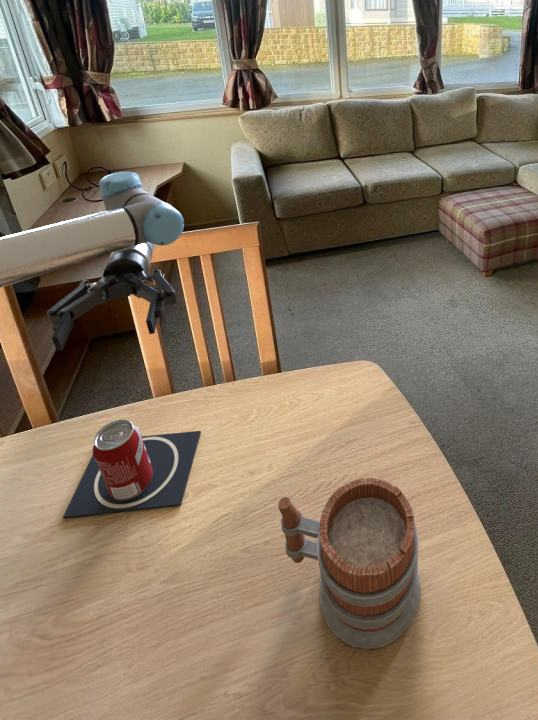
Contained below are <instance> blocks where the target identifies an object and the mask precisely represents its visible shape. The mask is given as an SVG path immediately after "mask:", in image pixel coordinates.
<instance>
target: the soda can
mask: <svg viewBox="0 0 538 720" xmlns="http://www.w3.org/2000/svg"><path fill="white" fill-rule="evenodd" d="M142 436H143V435H142V434H141V431H140V429H139V428H138V426H137V425H135V424H133V422H132V421H130V420H128V419H123V418H122V419H121V418H120V419H116V420H113V421H111V422H108V423H107V424H105V425H104V426H102V427H101V428H100V429H99V430H98V431H97V432H96V434H95V436H94V438H93V446H92V456H93V455H94V458H95V460H96V463H97V465H98V467H99V470H100V472H101V475H102V477H103V480H104V482H105V484H106V487H107V489H108V492H109V494H110V496H111V497H112V498H113V499H115V500H128V499H131V498H134V497H136V496H137V495H139V494H140V493H142V492H143V491H144V490H145V489H146V488H147V487H148V485H149V484H150V482H151V480H152V477H153V469H152V466H151V463H150V460H149V457H148V454H147V451H146V448H145V445H144V442H143V439H142Z"/></svg>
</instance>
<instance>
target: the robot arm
mask: <svg viewBox="0 0 538 720" xmlns="http://www.w3.org/2000/svg"><path fill="white" fill-rule="evenodd" d="M98 185H99V186H98V187H99V190H100V198H101V199H102V202H103V205H104V208H105V210H104V211H100V212H97V213H93V214H88V215H85V216H81V217H77V218H73V219H69V220H65V221H60V222H56V223H53V224H52V223H51V224H49V225H44V226H41V227H37V228H33V229H29V230H25V231H21V232H17V233H13V234H9V235H5V236H1V237H0V289H1V288H4V287H7V286H10V285H14V284H17V283H20V282H23V281H26V280H29V279H32V278H36V277H39V276H42V275H45V274H48V273H52V272H54V271H55V272H56V271H57V270H61V269H64V268H67V267H70V266H74V265H78V264H80V263H84V262H87V261H90V260H93V259H96V258H97V259H98V258H100V257H103V256H106V255H109V254H110V255H109V258H108V260H107V263H106V265H105V267H104V270H103V272H102V277H101V279H99V280H98V281H97V282H90V281H89V280H88V279H84V280H82V281H81V282H80V283H79V285H78V286H77V287H76V288H75V289H73V290H72V291H71V292H70V293H69V294H67V295H66V296H64V298H62V299H60V300H59V301H58V302H57V303H56V304H55V305H53V306H51V308H50V309H48V310H47V311H46V314H47V317H48V319H49V322H50V325H52V331H53V334H52V337H51V340H52V342H53V345H54V347H55V349H56V352H61V351H64V348H65V345H66V343H67V341H68V338H69V337H70V334H71V332H72V330H73V328H74V326H75V324H74V321H75V320H76V319H78V318H80V317H82V316H83V315H84V314H86V313H88V312H89V311H91V310H92V309H94V308H95V307H97V306H98V305H104V304H106V303H108V302H109V301H111V300H115V299H119V298H127V297H130V296H134V297H136V298H138V299H143V300H144V301H146V302H147V303H149V306H148V311H147V314H146V315H147V316H146V320H145V323H146V326H147V330H148V333H149V335H155V332H156V330H157V329H156V328H157V324H158V320H159V319H158V318H163V317H164V316H165V311H166V307H167V305H177V303H178V297H177V294H176V290H175V289H174V287H173V286H171V284H170V283H169V282H168V281H167V280H166V279H165V278H164V277H163V275H162V270H161V269H160V268H156V269H154V270H153V273H151V274H149V270H150V267H151V263H152V259H153V256H154V255H153V254H154V252H155V249H156V246H168V245H171V244H173V243H174V242H176V241H177V240H178V239H179V238H180V237H181V235H182V233H183V231H184V228H185V220H184V217H183V215H182V214H181V212H180V211H179V210H177V209H176V208H175V207H174V206H173V205H171V204H170V203H168V202H165V201H163V200H161V199H160V198H157V197H155V196H154V195H153V194H151V193H149V192H147V191H146V190H144V188H143V183H142V181H141V179H140V176H139V174H138V173H136V172H134V171H118V172H114V173H110V174H107V175H105V176H103V177H102V178H101V179H100V180H99V184H98ZM155 244H156V246H155ZM148 283H151V284H153V286H154V287H156V288H157V289H156V288H154V287H152V286H149V285H148Z"/></svg>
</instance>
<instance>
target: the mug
mask: <svg viewBox="0 0 538 720" xmlns="http://www.w3.org/2000/svg"><path fill="white" fill-rule="evenodd" d="M277 506H278V510H279V511H280V515H281V519H280V525H281V531H282V533H283V534H284V537H285V538H284V539H285V542H284V550H285V554H286V555H287V557H288V558H290V559H291V560H292V561H293V562H294V563H295V564H300V563H302V562H303V561H304V559H305V558H308V559H311V560H315V561H318V567H319V575H320V577H319V578H320V580H319V588H318V589H319V590H318V591H319V592H318V595H319V606H320V608H321V612H322V616H323V618H324V620H325V622H326V624H327V626H328V627H329V628H330V630H331V631H332V633H334V635H335V636H337V637H338V638H339V639H340V640H341V641H342V642H344V643H346V644H348V645H350V646H352V647H354V648H360V649H364V650H367V649H378V648H381V647H384V646H388V645H389V644H391V643H392V642H394V641H396V640H398V638H400V636H402V634H404V633H405V632H406V631H407V629H408V628H409V626H410V625H411V624H412V622H413V620H414V618H415V615H416V614H417V612H418V608H419V604H420V600H421V589H422V588H421V577H420V574H419V564H418V559H419V558H418V557H419V533H418V529H417V525H416V522H415V516H414V512H413V508H412V506H411V504H410V502H409V500H408V498H407V497H406V495H404V494H403V491H402V490H401V489H400V488H399V487H398V486H396V485H393V484H391V483H389V482H388V481H385V480H382V479H378V478H374V477H363V478H358V479H355V480H352V481H350V482H347V483H346V484H344V485H342V486H341V487H338V488H337V489H336V490H335V491H334V492H333V493H332V494H331V495H330V497H329V498H328V500H327V501H326V503H325V506H324V507H323V508H322V512H321V516H320V519H319V520H316V519H312V518H309V517H306V516H303V513H302V512H301V510H299V509H297V508H296V505H295V503H294V504H293V502H291V499H290V498H289V497H288V496H283V497H281V498H280V499H279V501H278V505H277ZM306 537H310V538H314V539H317V541H314V540H312V539H307V538H306Z"/></svg>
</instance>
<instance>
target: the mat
mask: <svg viewBox="0 0 538 720" xmlns="http://www.w3.org/2000/svg"><path fill="white" fill-rule="evenodd" d="M201 433H202V431H201V430H194V431H183V432H182V431H181V432H173V433H163V434H151V435H141V436H142V439H143V442H144V445H145V448H146V451H147V454H148V457H149V460H150V463H151V466H152V469H153V477H152V480H151V482H150V484H149V485H148V487H147V488H146V489H145V490H144V491H143V492H142V493H140V494H139V495H137V496H136V497H134V498H131V499H128V500H115V499H113V498H112V497H111V496H110V494H109V492H108V489H107V487H106V484H105V482H104V480H103V477H102V475H101V472H100V470H99V467H98V465H97V463H96V460H95V458H94V455H93V454H92V456H91V458H90V460H89V462H88V464H87V466H86V468H85V470H84V473H83V474H82V476H81V478H80V481H79V482H78V484H77V487H76V489H75V490H74V493H73V494H72V497H71V499H70V502H69V503H68V506H67V508H66V510H65V511H64V514H63V515H62V519H64V520H65V519H72V518H81V517H82V518H83V517H90V516H99V515H101V516H102V515H108V514H119V513H127V512H128V513H129V512H135V511H146V510H153V509H155V510H156V509H163V508H172V507H181V506H182V503H183V499H184V496H185V492H186V488H187V484H188V480H189V477H190V475H191V471H192V467H193V462H194V460H195V455H196V453H197V452H196V451H197V448H198V444H199V440H200V438H201Z"/></svg>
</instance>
